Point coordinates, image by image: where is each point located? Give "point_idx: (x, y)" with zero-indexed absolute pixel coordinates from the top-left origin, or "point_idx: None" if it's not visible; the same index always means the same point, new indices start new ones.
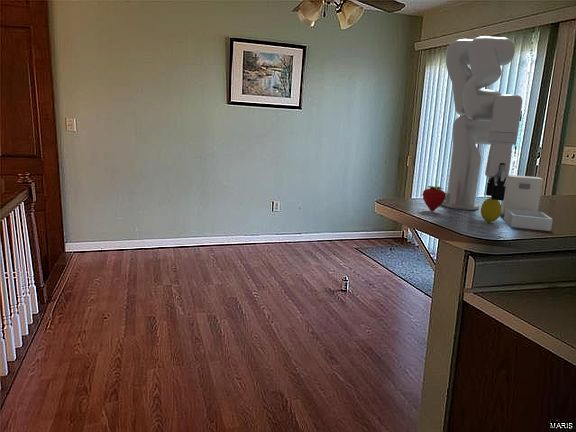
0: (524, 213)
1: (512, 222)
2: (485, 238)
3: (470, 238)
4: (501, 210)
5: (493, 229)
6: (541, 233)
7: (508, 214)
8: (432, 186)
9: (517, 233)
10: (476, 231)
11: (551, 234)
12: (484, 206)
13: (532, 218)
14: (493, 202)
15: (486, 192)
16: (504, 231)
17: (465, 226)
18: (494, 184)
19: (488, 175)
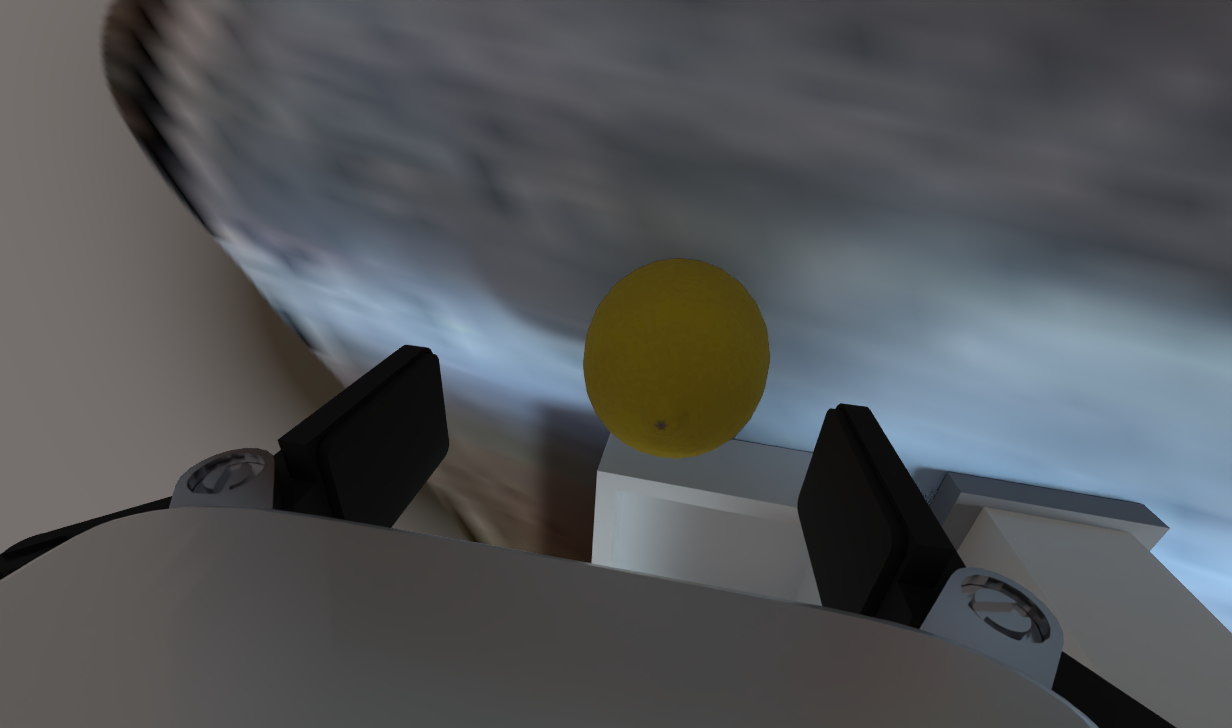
0: (819, 597)
1: (607, 441)
2: (188, 148)
3: (105, 27)
4: (1067, 528)
5: (481, 279)
6: (525, 514)
7: (741, 481)
8: None
9: (452, 394)
10: (342, 127)
11: (528, 547)
12: (625, 291)
13: (594, 557)
14: (595, 387)
15: (852, 422)
16: (462, 335)
17: (464, 61)
18: (851, 603)
19: (306, 547)
